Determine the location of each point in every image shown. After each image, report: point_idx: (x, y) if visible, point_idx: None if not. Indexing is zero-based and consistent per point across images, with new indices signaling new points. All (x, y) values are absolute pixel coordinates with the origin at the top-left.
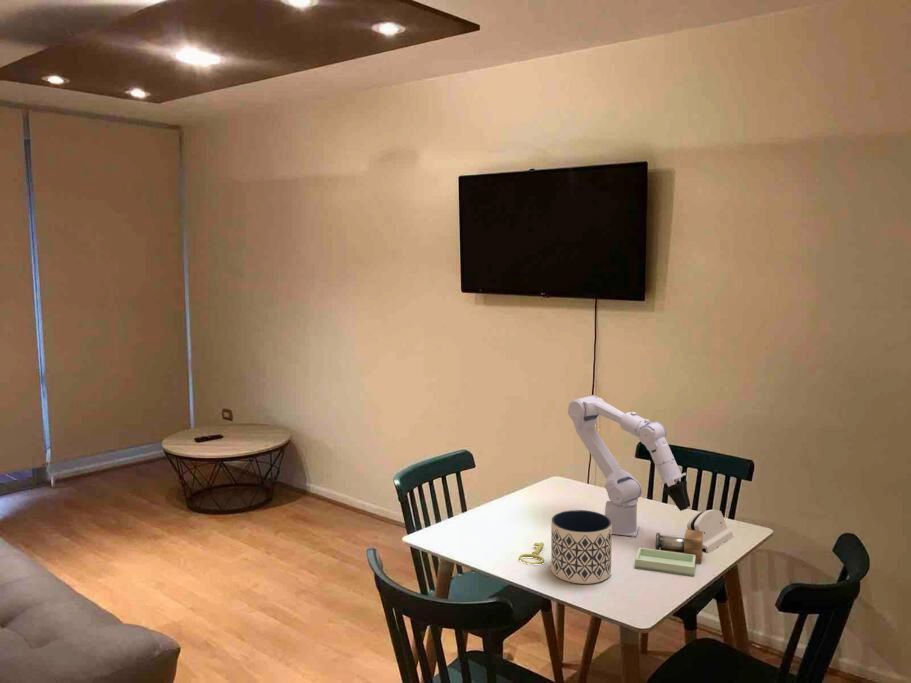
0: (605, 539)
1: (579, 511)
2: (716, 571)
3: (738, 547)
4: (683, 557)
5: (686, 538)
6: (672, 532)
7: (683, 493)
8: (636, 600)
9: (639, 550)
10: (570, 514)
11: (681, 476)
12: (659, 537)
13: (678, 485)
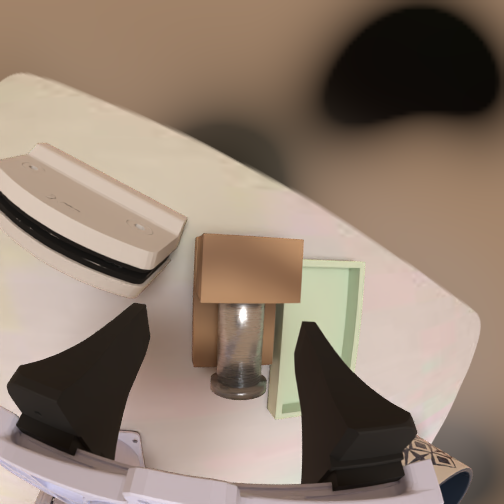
0: (451, 458)
1: None
2: (308, 201)
3: (120, 128)
4: None
5: (297, 295)
6: (54, 331)
7: (356, 379)
8: (442, 353)
9: (294, 413)
10: None
11: (253, 499)
12: (253, 384)
13: (408, 438)
